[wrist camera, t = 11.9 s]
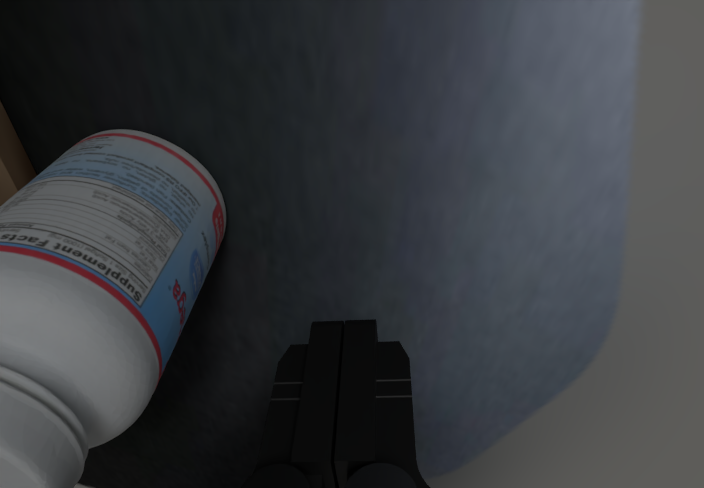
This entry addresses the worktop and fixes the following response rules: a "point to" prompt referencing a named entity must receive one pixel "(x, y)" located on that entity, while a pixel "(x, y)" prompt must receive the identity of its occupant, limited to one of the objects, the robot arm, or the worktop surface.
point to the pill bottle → (96, 295)
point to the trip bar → (12, 160)
